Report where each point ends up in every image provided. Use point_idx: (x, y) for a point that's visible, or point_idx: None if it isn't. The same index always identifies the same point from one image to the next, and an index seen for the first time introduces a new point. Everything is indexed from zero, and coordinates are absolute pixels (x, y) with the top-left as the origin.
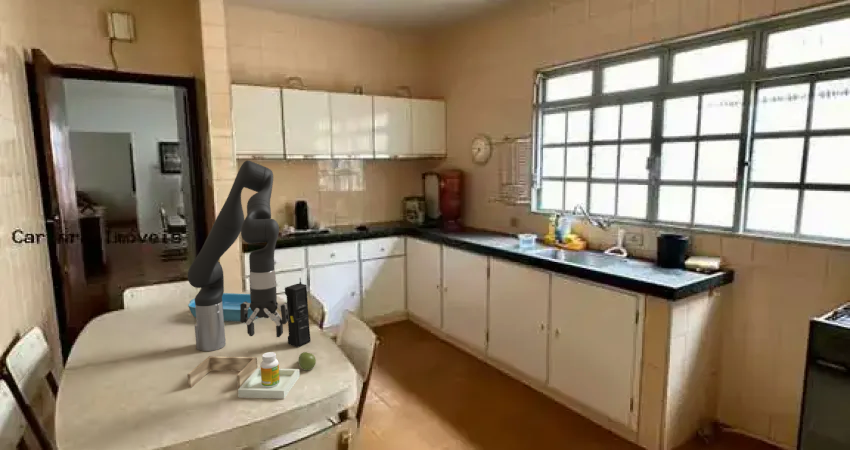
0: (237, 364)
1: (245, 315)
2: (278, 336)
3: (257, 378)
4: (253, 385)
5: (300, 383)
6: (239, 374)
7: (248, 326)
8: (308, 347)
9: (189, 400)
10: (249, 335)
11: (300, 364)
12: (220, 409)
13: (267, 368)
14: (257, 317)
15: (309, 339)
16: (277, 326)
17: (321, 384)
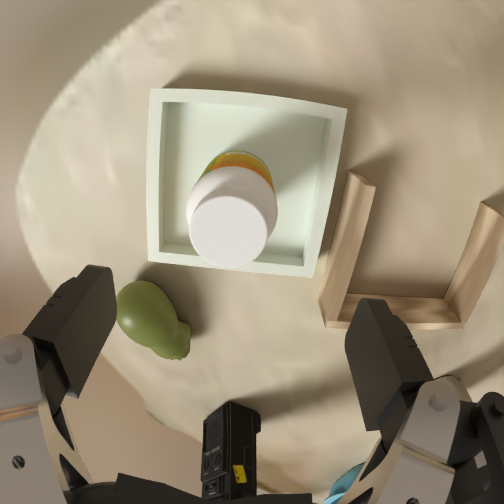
0: None
1: (461, 478)
2: (87, 265)
3: (301, 228)
4: (302, 175)
5: (136, 198)
6: (367, 193)
7: (418, 373)
8: (199, 399)
9: (473, 125)
10: (383, 300)
11: (158, 294)
12: (373, 40)
13: (229, 165)
14: (347, 472)
15: (205, 422)
16: (42, 336)
17: (71, 191)
